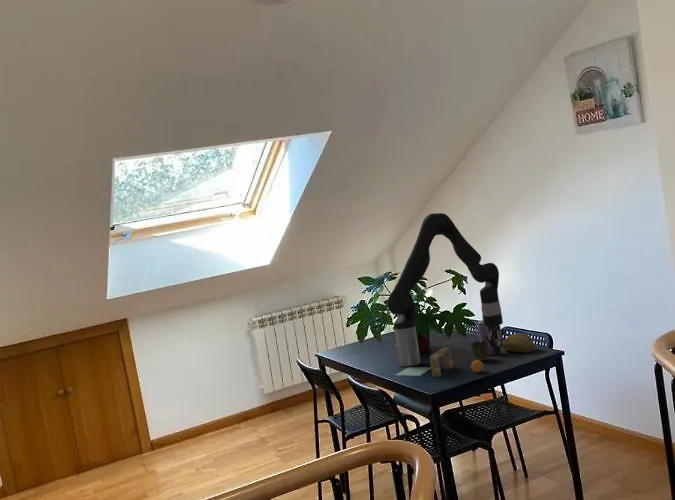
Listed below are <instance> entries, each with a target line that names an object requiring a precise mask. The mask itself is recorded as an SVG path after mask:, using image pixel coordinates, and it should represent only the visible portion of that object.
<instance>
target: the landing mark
mask: <svg viewBox="0 0 675 500" xmlns="http://www.w3.org/2000/svg"><path fill="white" fill-rule="evenodd" d="M430 370H431V366H430V367H428V366H427V367H424V366H423V367H419V366H417V367H415V366H407V367H405V368H404V369H403V370H402V371H399V372H398V373H397V374H394V376H399V377H402V376H403V377H410V376H411V377H414V376H415V377H419V376H422V375H424V374H425V373H427V372H428V371H430Z"/></svg>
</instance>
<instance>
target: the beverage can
mask: <svg viewBox="0 0 675 500" xmlns="http://www.w3.org/2000/svg"><path fill="white" fill-rule="evenodd" d="M477 331H478V336H479V341H480V343H481V341H485V342H488V340H487V338H486V336H489V334H488V327H487V326H485V325H484V322H483V319H482V320H478V321H477ZM492 355H495V352H494V347H493V346H491V345H490V344H489V342H488V353H487V355H486V356H492Z"/></svg>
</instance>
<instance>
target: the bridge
mask: <svg viewBox="0 0 675 500" xmlns="http://www.w3.org/2000/svg"><path fill="white" fill-rule="evenodd" d="M441 357H442V359H443V365H444V366H443V367H444V369H447V370H448V369H449V370H451V369H453V368H454V365H453V359H452V352H451V347H443V348H441V349H440V350H438V351H436V352H434V353H433V354H431V355H429V357H428V358H429V362H430V363H429V365H430V367H431V369H430V370H431V376H432V377H435V378H439V377H441V376H442V375H441V373H442V372H441V366H440V359H439V358H441Z"/></svg>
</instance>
